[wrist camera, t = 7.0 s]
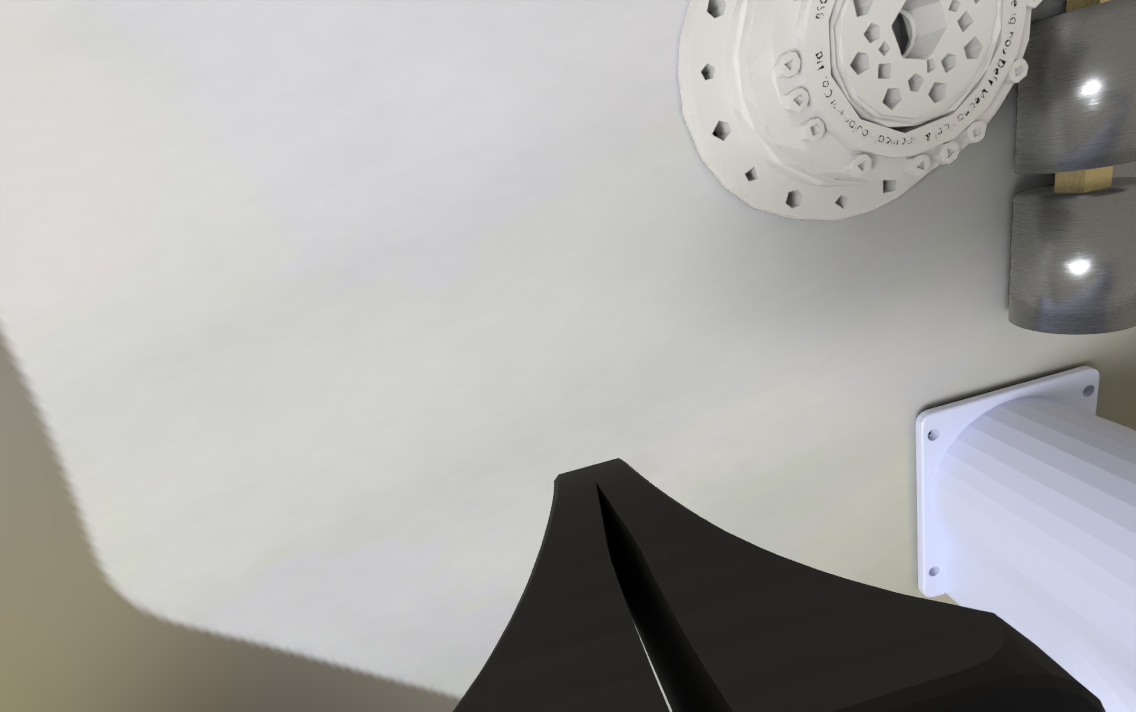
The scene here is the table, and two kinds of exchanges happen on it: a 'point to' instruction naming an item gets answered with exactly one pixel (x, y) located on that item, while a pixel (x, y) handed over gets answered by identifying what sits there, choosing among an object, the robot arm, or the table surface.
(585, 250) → the table surface
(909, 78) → the mechanical component
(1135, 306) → the hinge leaf
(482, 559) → the table surface
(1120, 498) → the robot arm
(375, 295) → the table surface
